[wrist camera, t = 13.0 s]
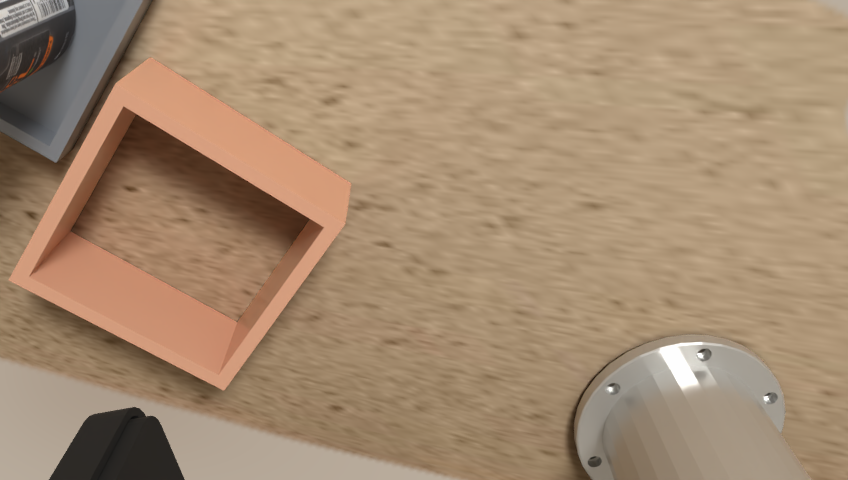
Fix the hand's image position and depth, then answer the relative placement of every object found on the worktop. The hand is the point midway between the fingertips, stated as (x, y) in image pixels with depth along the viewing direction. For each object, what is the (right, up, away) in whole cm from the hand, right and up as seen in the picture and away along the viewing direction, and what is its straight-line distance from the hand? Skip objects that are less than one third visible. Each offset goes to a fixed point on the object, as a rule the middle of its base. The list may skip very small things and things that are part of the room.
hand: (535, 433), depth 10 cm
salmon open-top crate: (-13, +4, +30) cm, 33 cm away
